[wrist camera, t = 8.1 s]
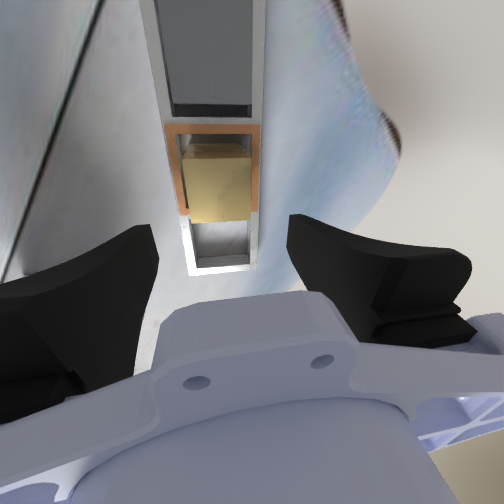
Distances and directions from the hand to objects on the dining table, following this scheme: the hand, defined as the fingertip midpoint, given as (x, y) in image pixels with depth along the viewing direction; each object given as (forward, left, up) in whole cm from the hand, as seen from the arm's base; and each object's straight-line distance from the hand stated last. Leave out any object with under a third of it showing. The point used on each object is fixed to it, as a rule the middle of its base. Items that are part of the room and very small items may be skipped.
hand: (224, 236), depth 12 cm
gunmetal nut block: (0, +8, -10) cm, 13 cm away
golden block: (0, +1, -10) cm, 10 cm away
